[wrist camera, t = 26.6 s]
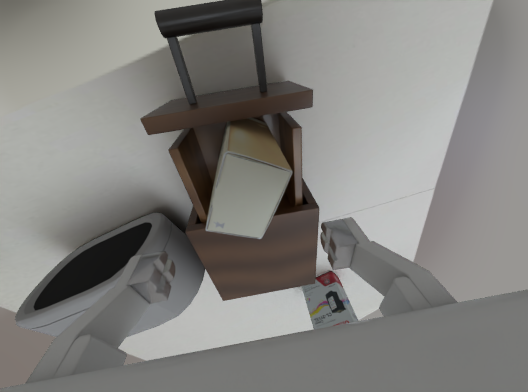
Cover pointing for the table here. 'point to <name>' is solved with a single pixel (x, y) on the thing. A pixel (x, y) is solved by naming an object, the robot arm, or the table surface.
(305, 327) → the table surface
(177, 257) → the alarm clock
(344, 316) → the ink box
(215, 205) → the cosmetic box
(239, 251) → the cabinet
